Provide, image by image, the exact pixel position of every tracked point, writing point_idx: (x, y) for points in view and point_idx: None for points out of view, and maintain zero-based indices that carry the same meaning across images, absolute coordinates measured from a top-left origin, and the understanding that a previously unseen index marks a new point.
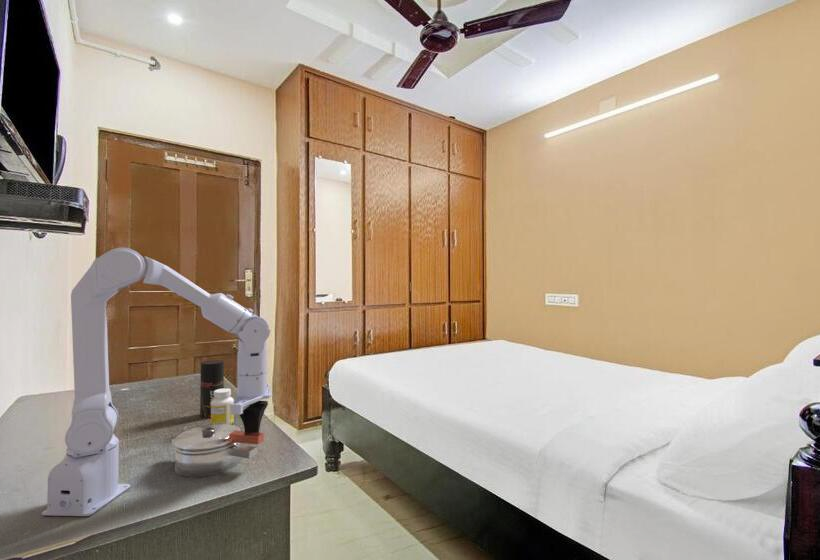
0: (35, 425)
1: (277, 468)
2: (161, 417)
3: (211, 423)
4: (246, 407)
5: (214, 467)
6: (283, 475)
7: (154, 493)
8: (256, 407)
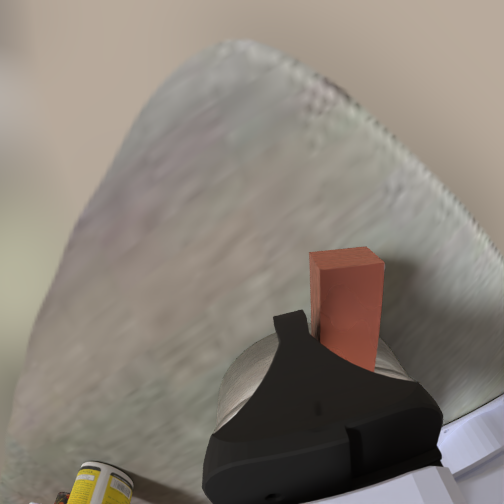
0: None
1: (280, 152)
2: None
3: (130, 500)
4: (494, 455)
5: (385, 348)
6: (326, 96)
7: (461, 377)
8: (417, 442)
